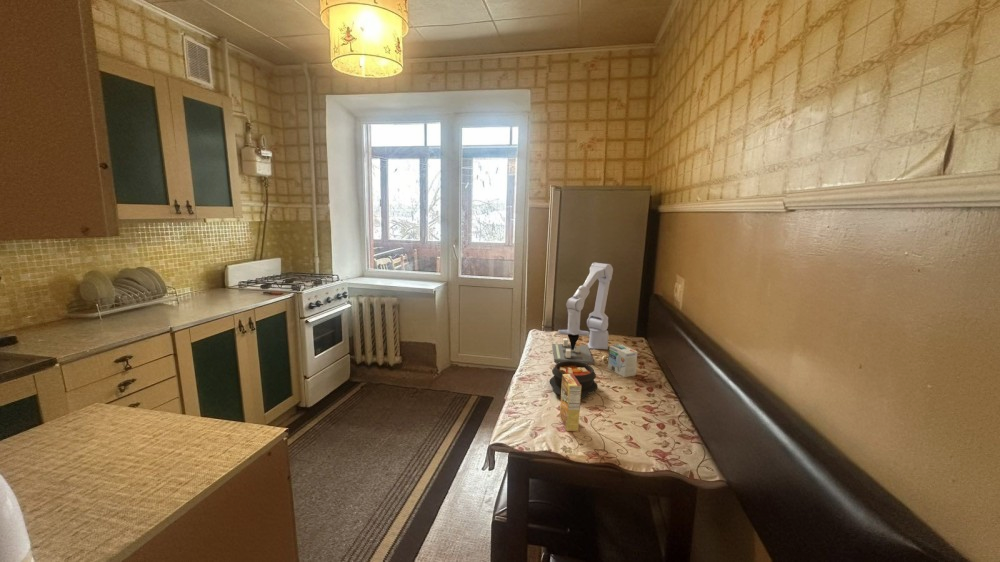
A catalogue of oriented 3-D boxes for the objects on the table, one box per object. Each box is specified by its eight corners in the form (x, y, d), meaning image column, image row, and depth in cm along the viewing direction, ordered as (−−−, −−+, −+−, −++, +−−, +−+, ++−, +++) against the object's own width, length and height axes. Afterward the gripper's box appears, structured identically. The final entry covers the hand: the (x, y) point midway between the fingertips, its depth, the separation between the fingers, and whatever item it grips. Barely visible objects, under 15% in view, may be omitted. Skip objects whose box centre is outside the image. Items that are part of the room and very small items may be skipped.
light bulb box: (607, 368, 168) (608, 345, 166) (618, 366, 170) (620, 343, 169) (624, 377, 158) (626, 353, 156) (636, 375, 161) (638, 351, 159)
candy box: (559, 416, 125) (561, 373, 123) (571, 416, 126) (573, 373, 123) (566, 431, 117) (568, 385, 114) (579, 431, 117) (582, 385, 115)
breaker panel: (587, 348, 194) (587, 338, 193) (593, 364, 172) (594, 353, 171) (552, 346, 195) (552, 336, 194) (554, 362, 174) (554, 351, 173)
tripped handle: (578, 350, 184) (579, 343, 184) (579, 352, 182) (579, 345, 181) (574, 350, 185) (575, 342, 184) (575, 352, 182) (575, 344, 181)
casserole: (594, 406, 133) (595, 384, 132) (542, 397, 139) (543, 376, 138) (599, 379, 156) (601, 360, 155) (555, 372, 162) (556, 354, 161)
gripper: (559, 323, 178) (558, 351, 180) (590, 325, 176) (588, 352, 179) (558, 320, 185) (557, 346, 187) (588, 321, 183) (586, 347, 186)
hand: (572, 349), depth 183 cm, fingers closed
